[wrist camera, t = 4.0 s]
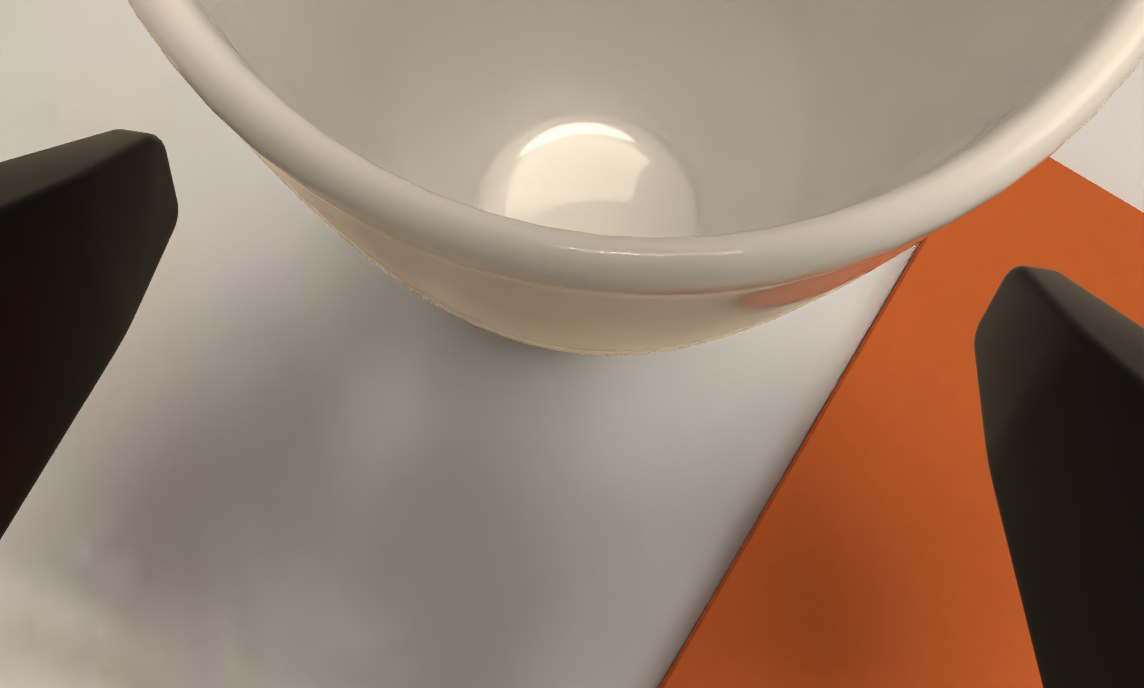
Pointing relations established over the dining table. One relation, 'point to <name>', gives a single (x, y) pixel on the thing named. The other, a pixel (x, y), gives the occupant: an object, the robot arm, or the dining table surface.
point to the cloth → (910, 476)
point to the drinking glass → (645, 140)
